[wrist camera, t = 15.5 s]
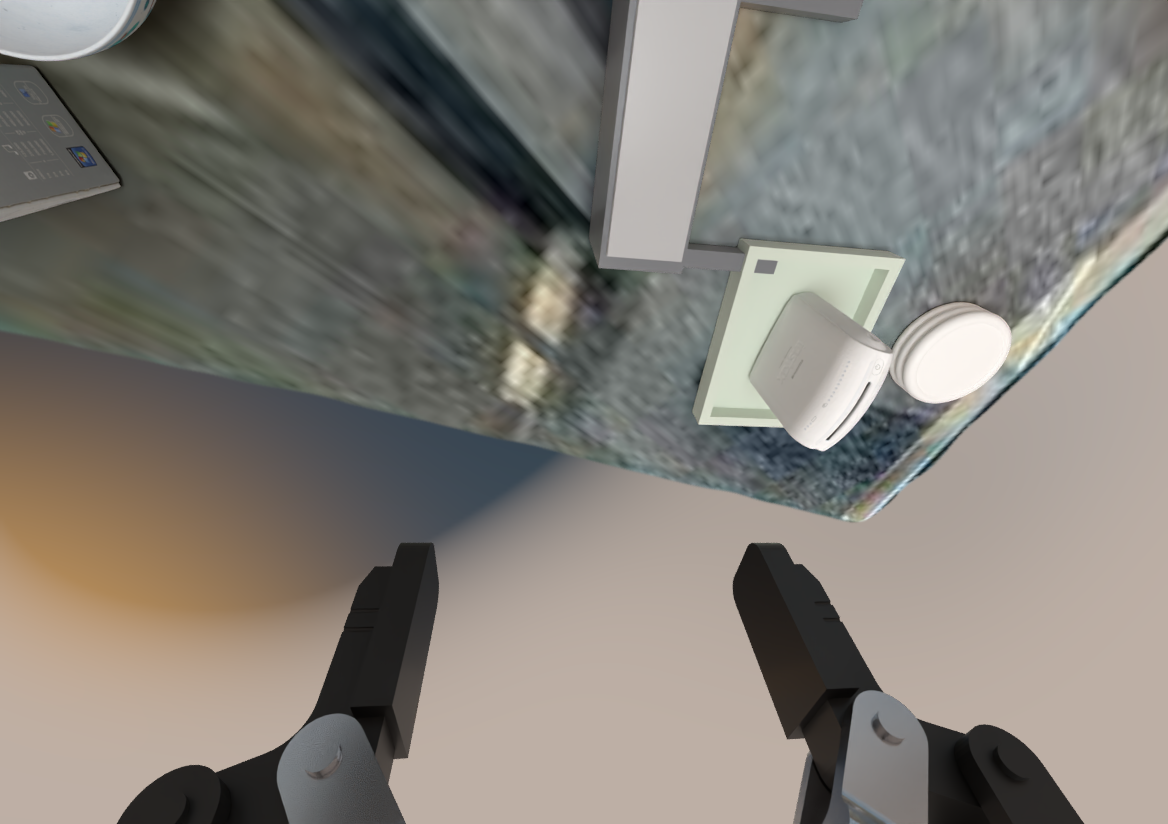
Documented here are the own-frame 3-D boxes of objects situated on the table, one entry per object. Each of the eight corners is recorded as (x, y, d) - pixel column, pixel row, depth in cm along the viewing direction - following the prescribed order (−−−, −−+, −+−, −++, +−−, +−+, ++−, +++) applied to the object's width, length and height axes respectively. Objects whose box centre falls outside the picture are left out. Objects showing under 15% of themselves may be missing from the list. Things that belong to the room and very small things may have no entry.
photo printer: (791, 285, 43) (871, 346, 32) (831, 296, 43) (921, 359, 33) (740, 380, 48) (794, 458, 38) (777, 388, 49) (839, 467, 39)
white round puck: (1002, 338, 49) (1031, 353, 46) (914, 403, 53) (936, 421, 50) (959, 279, 44) (988, 293, 42) (867, 354, 48) (888, 371, 46)
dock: (617, -43, 30) (641, -84, 23) (850, -7, 32) (939, -34, 25) (587, 253, 40) (597, 288, 33) (764, 267, 42) (810, 303, 35)
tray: (739, 238, 40) (750, 246, 38) (888, 251, 42) (905, 259, 40) (692, 411, 50) (698, 424, 48) (813, 416, 52) (824, 428, 50)
